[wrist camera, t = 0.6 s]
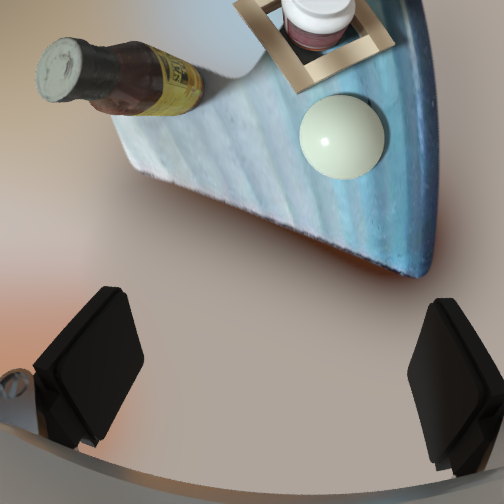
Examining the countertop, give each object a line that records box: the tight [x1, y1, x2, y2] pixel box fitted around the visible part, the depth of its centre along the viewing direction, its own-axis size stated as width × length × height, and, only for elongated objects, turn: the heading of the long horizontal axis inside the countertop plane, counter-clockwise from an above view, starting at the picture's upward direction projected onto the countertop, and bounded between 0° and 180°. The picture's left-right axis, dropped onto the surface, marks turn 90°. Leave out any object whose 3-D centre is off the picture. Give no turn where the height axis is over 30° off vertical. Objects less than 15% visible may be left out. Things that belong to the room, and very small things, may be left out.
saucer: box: [299, 95, 384, 180], centre depth 31 cm, size 9×9×1 cm
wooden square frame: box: [233, 0, 395, 95], centre depth 25 cm, size 12×12×3 cm
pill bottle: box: [281, 0, 355, 51], centre depth 22 cm, size 6×6×11 cm
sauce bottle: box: [35, 37, 204, 116], centre depth 22 cm, size 6×6×20 cm
